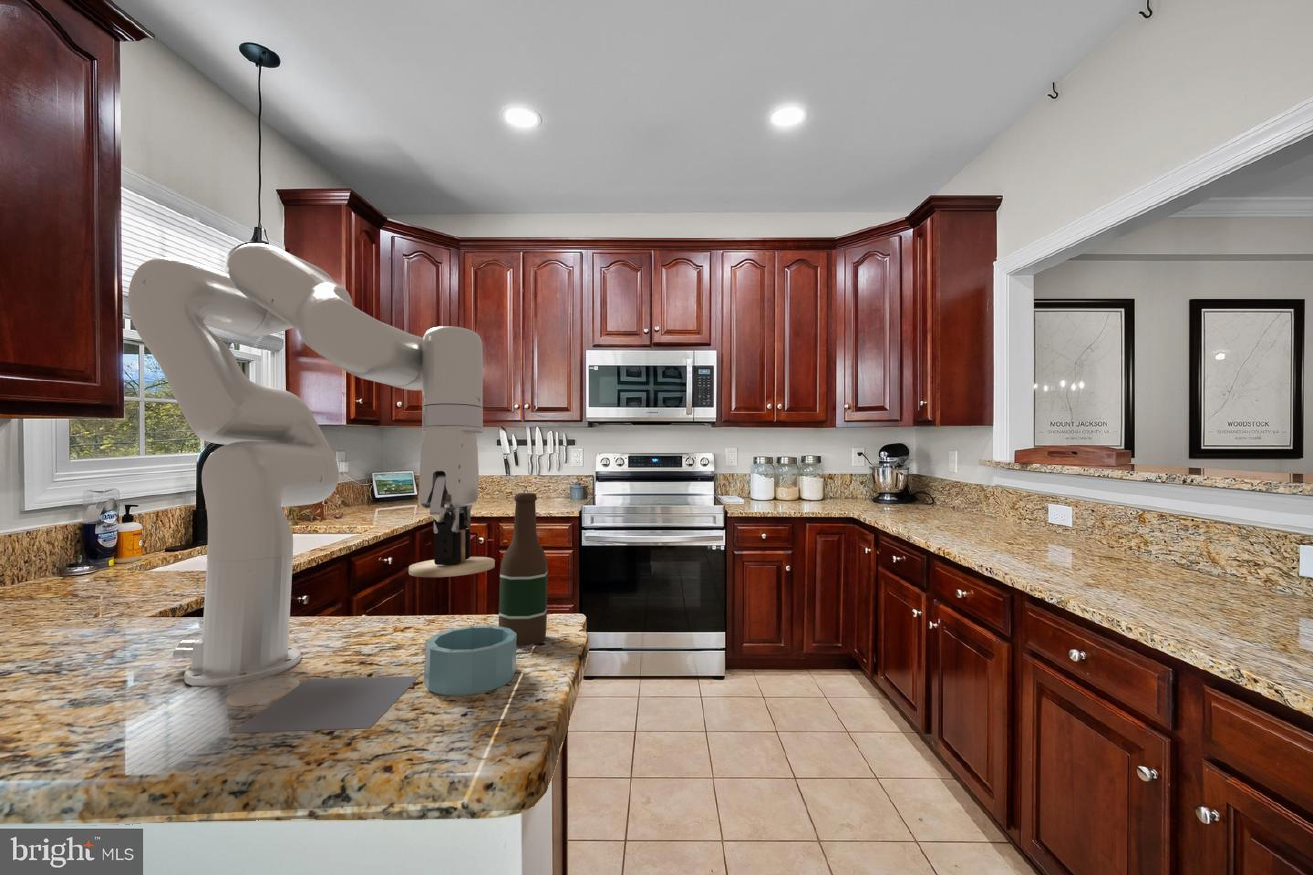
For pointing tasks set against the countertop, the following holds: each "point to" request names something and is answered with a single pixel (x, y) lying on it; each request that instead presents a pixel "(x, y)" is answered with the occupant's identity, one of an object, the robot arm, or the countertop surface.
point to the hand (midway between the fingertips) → (452, 560)
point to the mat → (330, 705)
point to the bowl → (470, 660)
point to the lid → (459, 569)
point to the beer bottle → (524, 577)
